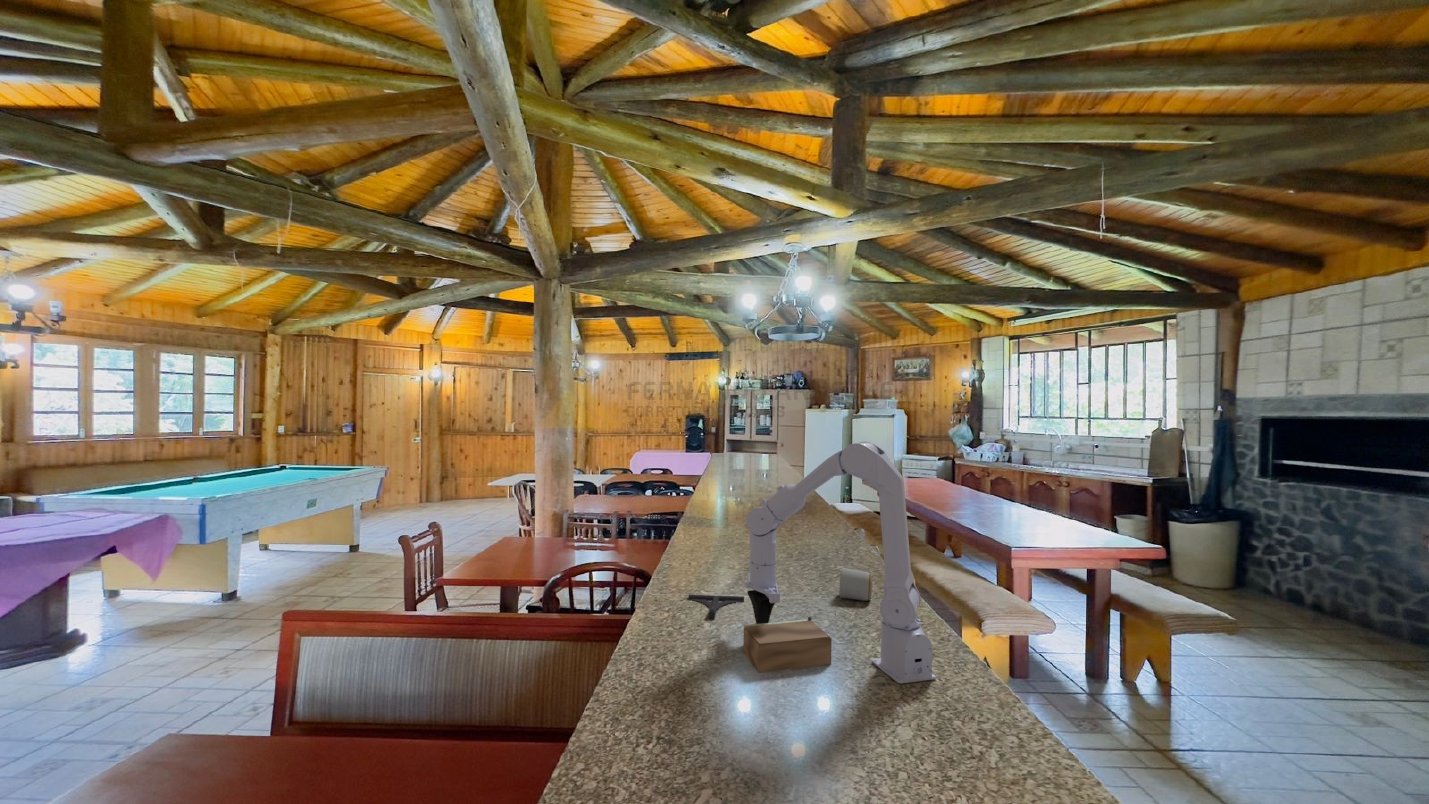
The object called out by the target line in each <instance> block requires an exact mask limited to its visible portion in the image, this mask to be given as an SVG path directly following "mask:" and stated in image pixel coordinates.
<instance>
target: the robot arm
mask: <svg viewBox="0 0 1429 804" xmlns="http://www.w3.org/2000/svg"><path fill="white" fill-rule="evenodd" d="M848 474H849V475H850V476H853V477H856V478H858V479H861V480H864V481H866V483H868V484H869V485H870V486H872V487H873V488H874V489H876V490H877V492H878V500H879V501H878V503H879V512H880V513H879V514H880V526H881V537H882V539H881V540H882V551H883V565H884V566H883V567H884V579H883V580H884V581H883V597H882V599H881V600H880V601H881V602H880V604H879V611H880V614H881V618H880V657H877V658H872V659H871V663H873V664H874V665H875V666H876V667H878V668H879V669H880V670H882V672H884V673H885V674H886V675H888V677H890V678H891V679H892V680H893V681H895V682H896V683H898V684H907V683H917V682H922V681H923V682H924V681H930V680H931V681H932V680H935V679H937V676H936V675H935V674H933V645H932V642H931V641H932V640H930V638H929V637H928V636H927V635H926V634H925V632H924V631H923V629H922V622H921V619H920V617H919V615H918V614H917V610H918V609H919V607H920V605H921V602H922V601H921V599H922V598H921V594H920V591H919V589H918V588H917V587H916V583H915V576H914V574H913V571H912V566H911V565H912V564H911V552H910V543H909V541H910V540H909V530H908V529H909V528H908V526H909V525H908V516H907V514H908V513H907V504H906V501H907V500H906V492H905V481H904V477H903V475H902V474H901V472H900V471H899V470H898V468H897V467H896V466H895V465H894V463H893V462H892V461H891V459H890V458H889V456H888V454H887V453H886V451H885V450H884V449H882V448H881V447H879V446H878V445H876V443H873V442H871V441H860V442H859V443H858V442H855V443H850V444H849V445H847V446H846V447H845V448H844V449H843V450H839V451H838V452H836V453H834V454H832V455H831V456H829V457H828V458H826V459H824V461H823V462H821V464H819V465H818V466H817V467H816V468H814V469H813V470H812V471H811V472H810V473H809V474H807V475H806V476H805V477H803V479H801V480H800V481H799V482H798V483H796V484H792V483H786V484H785V485H784V484H781V485H779V486H778V487H776V490H777V491H776V492H775V493H774V494H773V495H771V496H770V497H768V499H767V498H763V500H761V506H758V507H757V506H756V507H752V509H751V510H750V511H749V512H748V514H747V515H746V520H745V523H746V527H747V529H748V530H749V532H750V533H749V536H750V537H749V573H747V575H746V579H747V580H746V582H744V583H743V586H744V588H745V589H750V590H747V596H748V597H749V600H750V602H751V605H752V608H753V615H754V620H755V624H762V623H770V618H771V614H772V612H773V609H774V606H775V604H777V603H780V602H781V601H780V600H781V593H780V592H779V588H778V582H777V530H778V529H779V527H780V525H781V524H782V523H784V522H785V521H787V520H788V519H789V518H791V517H792V516H793V515H794V514H796V513H797V512H798V511H800V510H801V509H803V508H804V507H805V505H806V500H807V496H809V495H810V494H812V493H813V492H814V491H816V490H817V489H819V488H820V487H821V486H823V485H824V484H826V483H827V482H829V481H830V480H831V479H833V478H834V477H838V476H844V475H848ZM751 589H752V590H751Z"/></svg>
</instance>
